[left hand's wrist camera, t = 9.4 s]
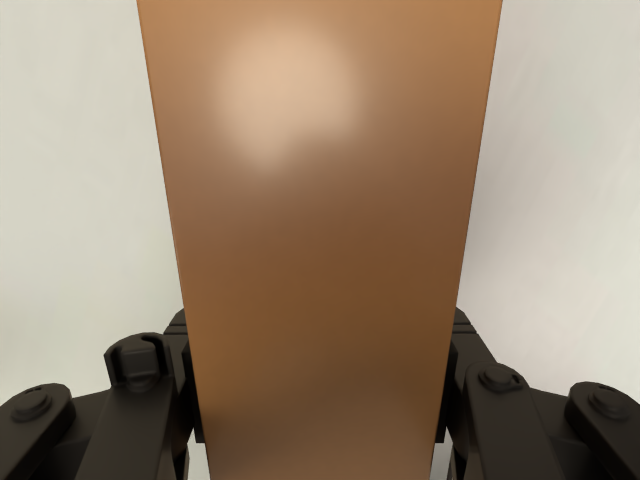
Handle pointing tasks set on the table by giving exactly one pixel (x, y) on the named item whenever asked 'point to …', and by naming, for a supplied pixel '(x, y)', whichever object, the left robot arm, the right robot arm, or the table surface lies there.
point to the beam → (319, 219)
